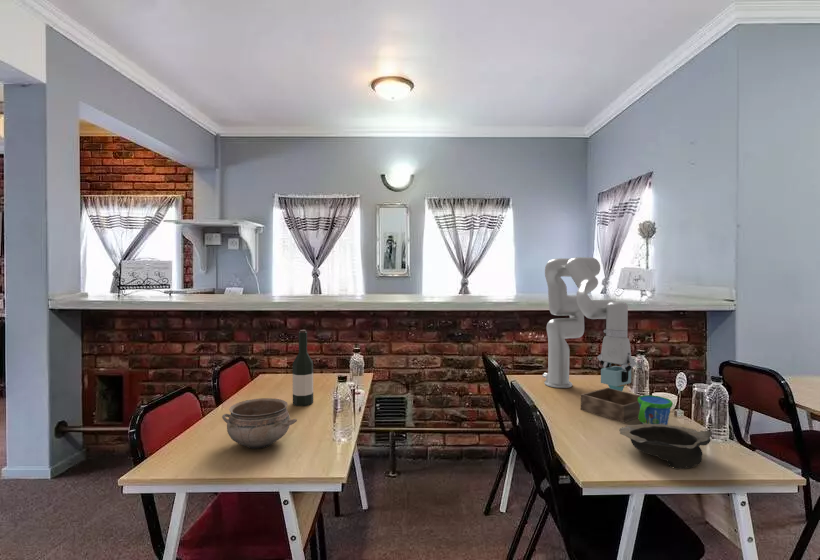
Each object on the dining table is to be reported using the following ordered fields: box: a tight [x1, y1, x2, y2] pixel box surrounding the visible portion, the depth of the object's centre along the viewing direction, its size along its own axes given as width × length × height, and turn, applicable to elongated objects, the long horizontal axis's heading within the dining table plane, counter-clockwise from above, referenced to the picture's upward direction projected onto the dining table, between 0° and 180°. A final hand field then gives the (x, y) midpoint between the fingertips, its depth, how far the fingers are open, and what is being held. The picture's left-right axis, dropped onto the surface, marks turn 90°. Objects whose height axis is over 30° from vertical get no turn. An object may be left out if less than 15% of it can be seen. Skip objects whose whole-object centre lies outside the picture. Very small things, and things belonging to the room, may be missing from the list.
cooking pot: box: [221, 397, 298, 450], centre depth 144 cm, size 25×19×12 cm
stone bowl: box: [618, 423, 713, 469], centre depth 137 cm, size 25×25×9 cm
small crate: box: [600, 365, 632, 386], centre depth 178 cm, size 6×10×6 cm, turn 123°
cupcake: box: [607, 384, 627, 392], centre depth 206 cm, size 9×8×12 cm
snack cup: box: [637, 395, 674, 425], centre depth 160 cm, size 16×10×10 cm
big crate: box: [580, 387, 641, 423], centre depth 178 cm, size 18×18×6 cm
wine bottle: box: [292, 329, 314, 407], centre depth 187 cm, size 8×8×30 cm
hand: (616, 379), depth 178 cm, fingers closed on small crate, 6 cm apart
